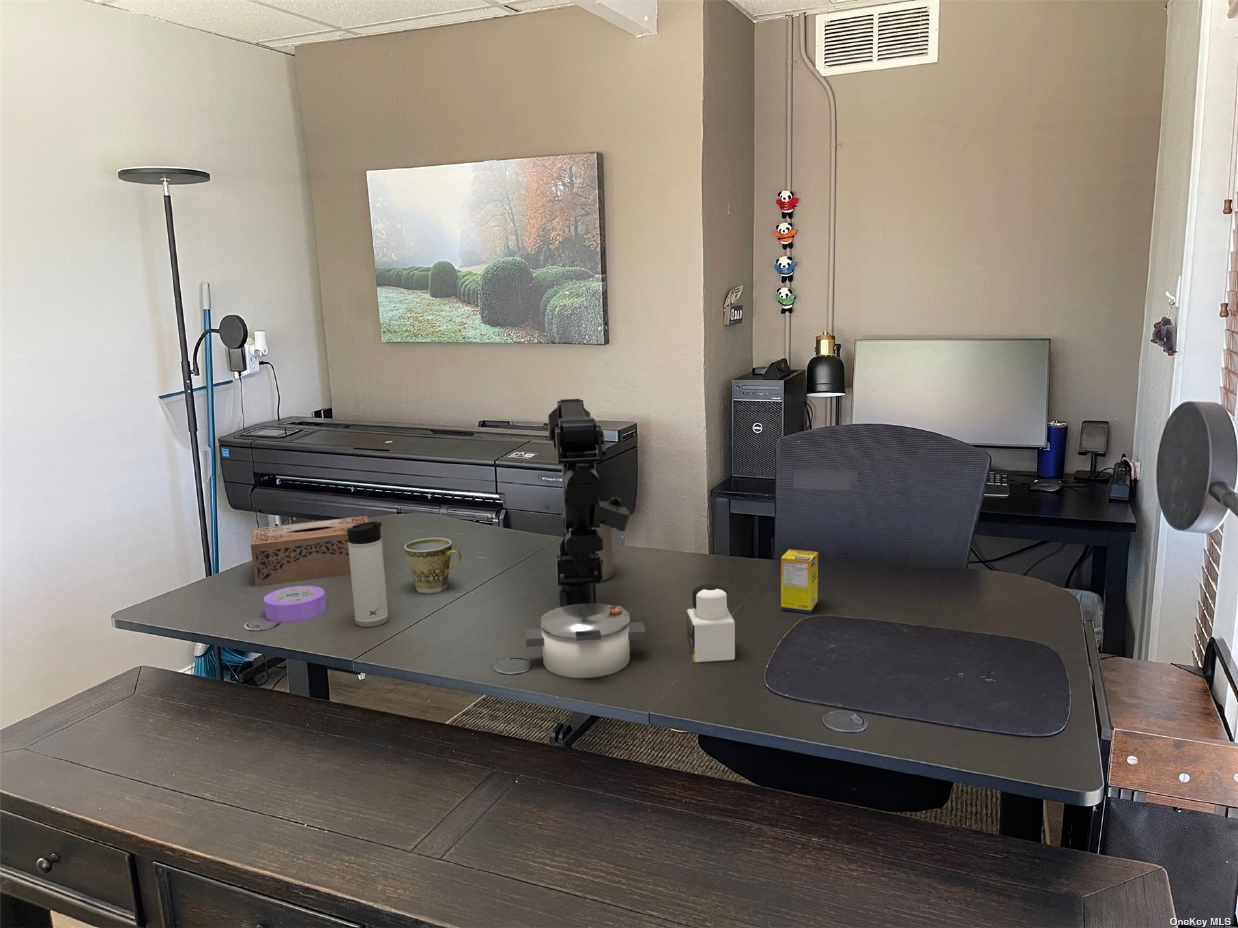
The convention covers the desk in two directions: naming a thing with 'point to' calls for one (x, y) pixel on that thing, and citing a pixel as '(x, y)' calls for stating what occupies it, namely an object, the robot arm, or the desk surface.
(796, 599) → the supplement box
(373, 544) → the travel mug
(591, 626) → the cooker lid
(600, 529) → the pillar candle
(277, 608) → the masking tape
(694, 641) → the medicine bottle
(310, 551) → the tissue box cover
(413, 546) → the ceramic cup
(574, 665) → the cooker body
